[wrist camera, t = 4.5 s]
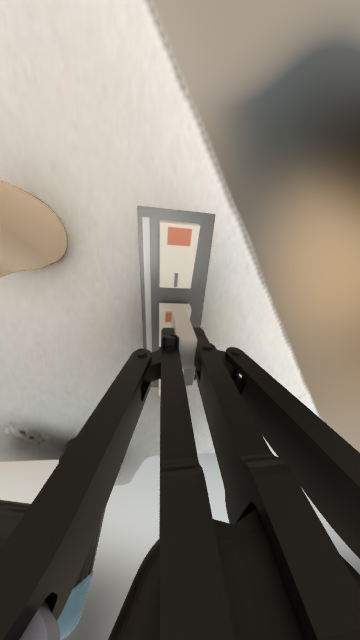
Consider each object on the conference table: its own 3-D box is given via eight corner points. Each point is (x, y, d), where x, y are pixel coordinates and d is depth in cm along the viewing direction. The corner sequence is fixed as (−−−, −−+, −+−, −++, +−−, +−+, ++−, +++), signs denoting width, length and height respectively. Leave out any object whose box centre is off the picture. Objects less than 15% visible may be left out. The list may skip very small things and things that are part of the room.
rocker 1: (159, 282, 20) (159, 287, 19) (159, 219, 15) (159, 222, 14) (189, 283, 21) (190, 289, 19) (197, 223, 16) (200, 226, 15)
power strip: (148, 401, 35) (146, 416, 32) (141, 212, 20) (137, 205, 16) (185, 398, 36) (188, 413, 33) (207, 219, 21) (215, 213, 18)
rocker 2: (159, 339, 24) (159, 347, 23) (159, 303, 19) (159, 310, 18) (184, 339, 24) (185, 346, 23) (189, 303, 20) (191, 310, 19)
